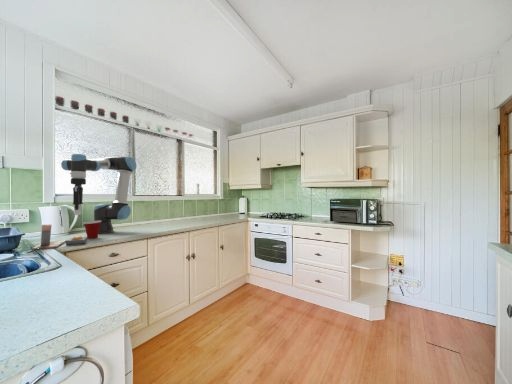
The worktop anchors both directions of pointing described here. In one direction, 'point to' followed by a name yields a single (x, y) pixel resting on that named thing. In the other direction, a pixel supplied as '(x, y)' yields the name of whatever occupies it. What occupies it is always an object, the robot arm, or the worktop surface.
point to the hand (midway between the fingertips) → (77, 214)
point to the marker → (45, 235)
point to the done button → (77, 237)
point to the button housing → (77, 241)
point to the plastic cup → (92, 228)
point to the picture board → (52, 245)
